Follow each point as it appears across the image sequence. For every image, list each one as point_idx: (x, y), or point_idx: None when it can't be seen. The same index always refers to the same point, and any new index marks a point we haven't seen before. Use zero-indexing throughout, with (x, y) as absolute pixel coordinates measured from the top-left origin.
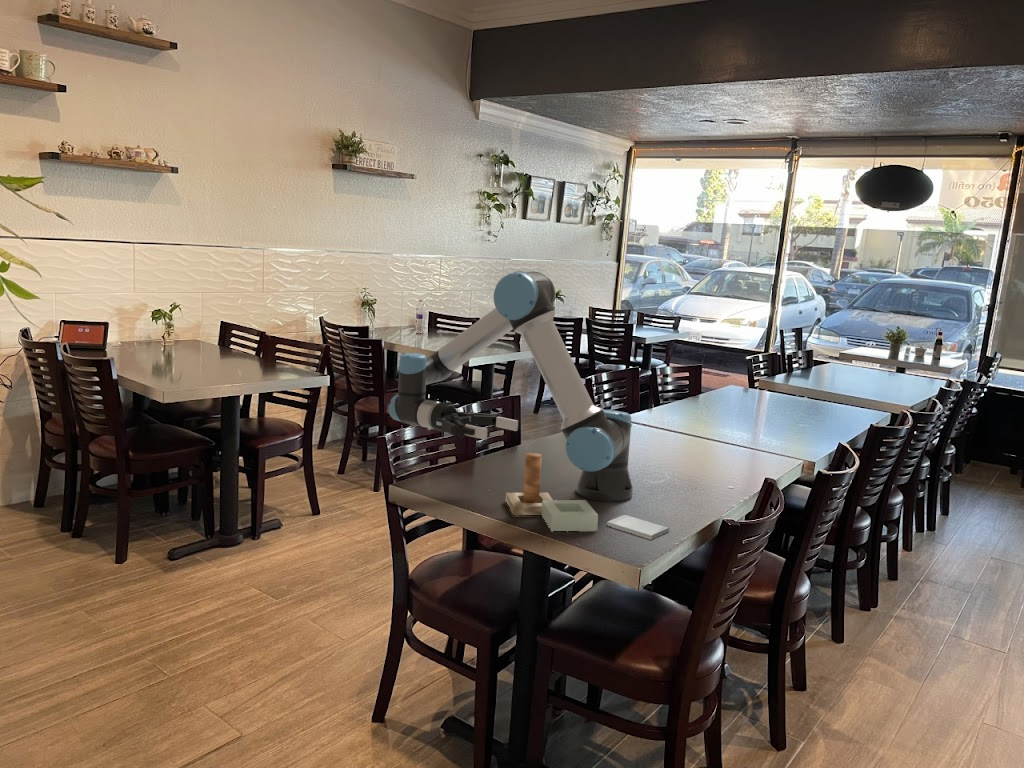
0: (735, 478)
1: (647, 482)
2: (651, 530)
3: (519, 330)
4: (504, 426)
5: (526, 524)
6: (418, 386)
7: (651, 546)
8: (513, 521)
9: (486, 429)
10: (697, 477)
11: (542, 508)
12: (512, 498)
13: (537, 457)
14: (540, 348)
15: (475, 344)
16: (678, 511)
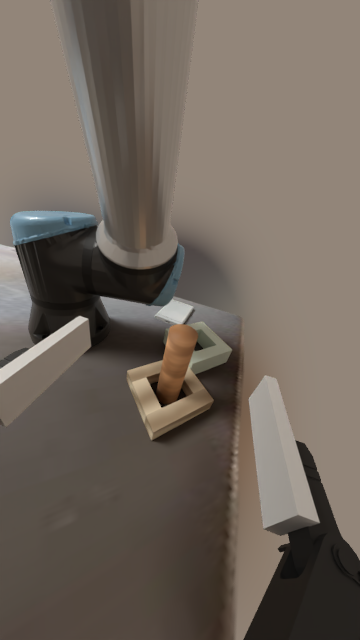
0: (13, 259)
1: (21, 298)
2: (184, 306)
3: None
4: (51, 376)
5: (223, 387)
6: None
7: (205, 310)
8: (225, 403)
9: (270, 378)
10: (4, 272)
11: (194, 368)
12: (180, 411)
13: (192, 328)
14: None
15: None
16: None
